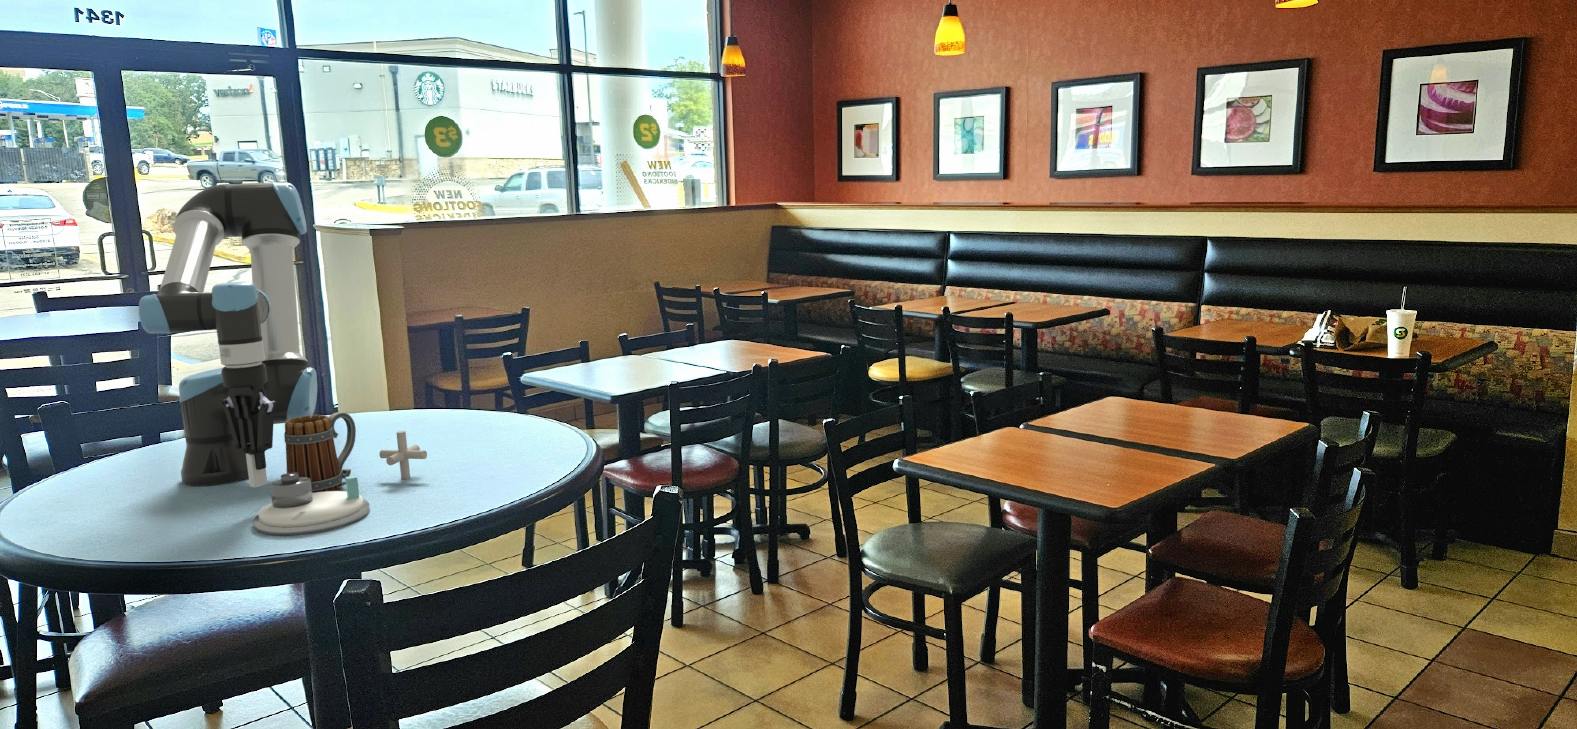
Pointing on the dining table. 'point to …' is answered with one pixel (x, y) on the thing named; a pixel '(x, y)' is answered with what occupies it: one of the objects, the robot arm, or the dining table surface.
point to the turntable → (316, 508)
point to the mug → (318, 450)
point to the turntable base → (312, 528)
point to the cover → (291, 491)
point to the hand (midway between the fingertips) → (258, 485)
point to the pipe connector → (403, 454)
